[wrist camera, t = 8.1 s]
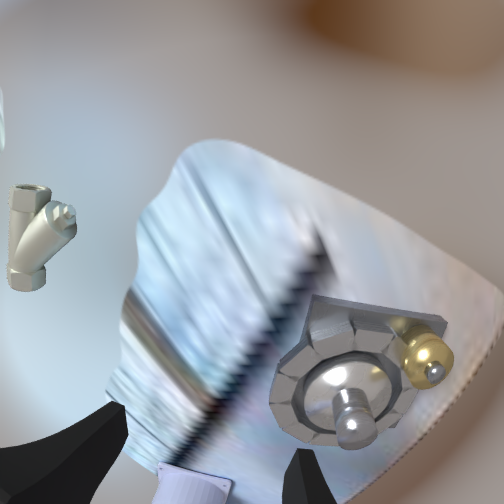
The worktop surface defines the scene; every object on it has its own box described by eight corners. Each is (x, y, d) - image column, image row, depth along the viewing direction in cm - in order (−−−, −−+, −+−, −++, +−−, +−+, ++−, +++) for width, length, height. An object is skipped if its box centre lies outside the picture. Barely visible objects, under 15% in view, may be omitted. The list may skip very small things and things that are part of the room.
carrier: (385, 428, 20) (398, 468, 15) (260, 416, 21) (254, 462, 16) (440, 315, 18) (474, 348, 13) (294, 290, 18) (296, 326, 13)
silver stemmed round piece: (362, 421, 19) (374, 468, 14) (291, 409, 19) (290, 460, 14) (400, 361, 17) (425, 405, 12) (323, 343, 18) (333, 392, 13)
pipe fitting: (90, 196, 19) (32, 183, 19) (59, 201, 15) (2, 185, 15) (81, 293, 21) (27, 270, 21) (54, 312, 17) (-1, 283, 17)
